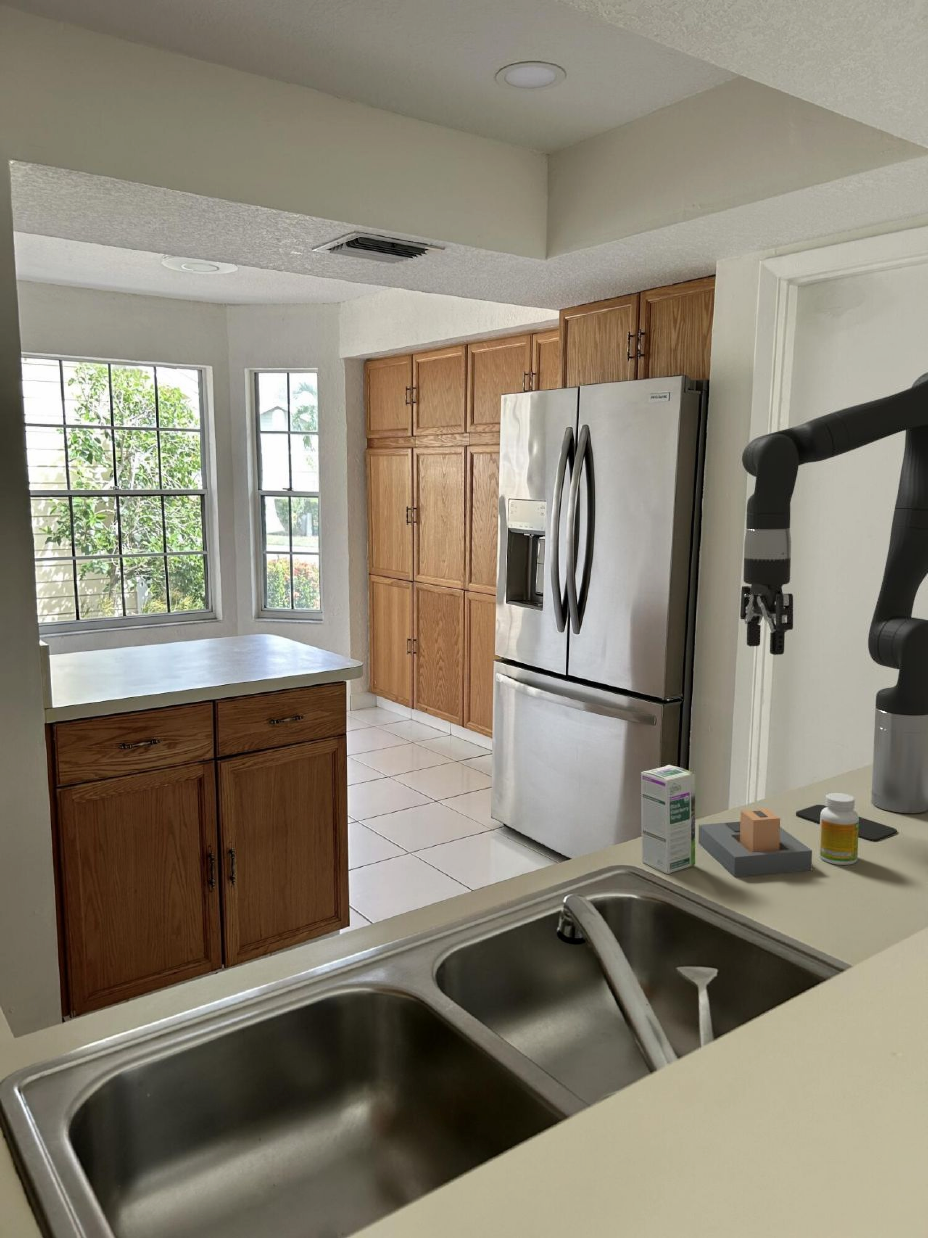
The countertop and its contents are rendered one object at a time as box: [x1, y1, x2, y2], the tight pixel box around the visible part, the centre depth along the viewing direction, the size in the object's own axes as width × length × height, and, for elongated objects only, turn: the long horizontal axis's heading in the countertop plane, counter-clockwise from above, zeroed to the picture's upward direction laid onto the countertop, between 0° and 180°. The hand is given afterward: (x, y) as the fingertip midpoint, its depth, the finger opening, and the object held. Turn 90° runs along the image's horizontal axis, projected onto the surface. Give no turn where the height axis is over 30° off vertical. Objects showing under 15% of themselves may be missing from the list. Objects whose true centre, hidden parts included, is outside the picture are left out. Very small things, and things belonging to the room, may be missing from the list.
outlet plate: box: [697, 821, 813, 878], centre depth 139 cm, size 12×13×3 cm
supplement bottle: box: [818, 792, 860, 866], centre depth 137 cm, size 5×5×10 cm
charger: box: [739, 808, 781, 853], centre depth 137 cm, size 4×4×7 cm
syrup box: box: [640, 764, 696, 875], centre depth 136 cm, size 6×6×14 cm
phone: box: [795, 804, 898, 842], centre depth 152 cm, size 7×1×15 cm
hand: (764, 650), depth 156 cm, fingers open, 8 cm apart
